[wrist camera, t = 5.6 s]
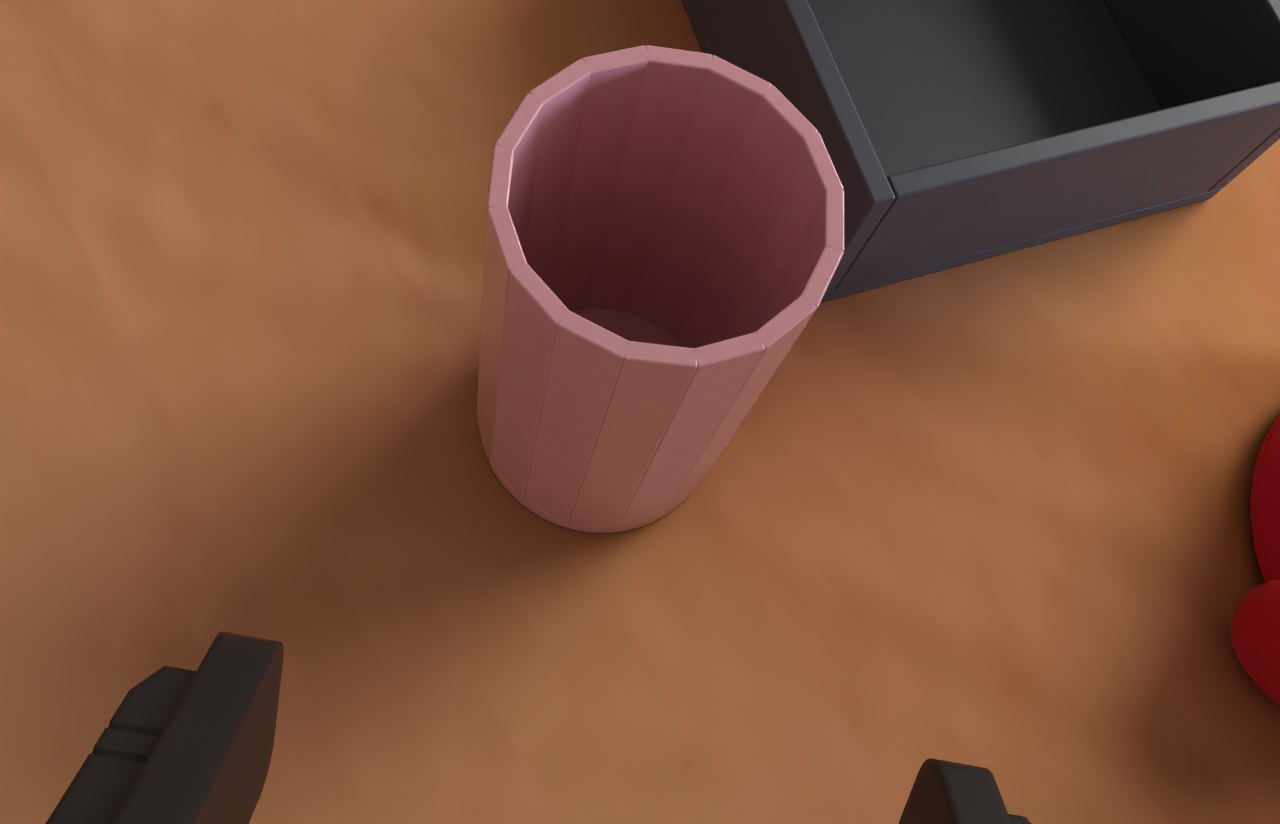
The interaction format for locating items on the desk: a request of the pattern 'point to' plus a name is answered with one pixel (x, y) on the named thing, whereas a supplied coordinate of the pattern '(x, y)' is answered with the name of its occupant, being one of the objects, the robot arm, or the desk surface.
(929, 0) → the tub
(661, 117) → the cup
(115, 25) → the desk surface
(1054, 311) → the desk surface
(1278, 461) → the alarm clock
